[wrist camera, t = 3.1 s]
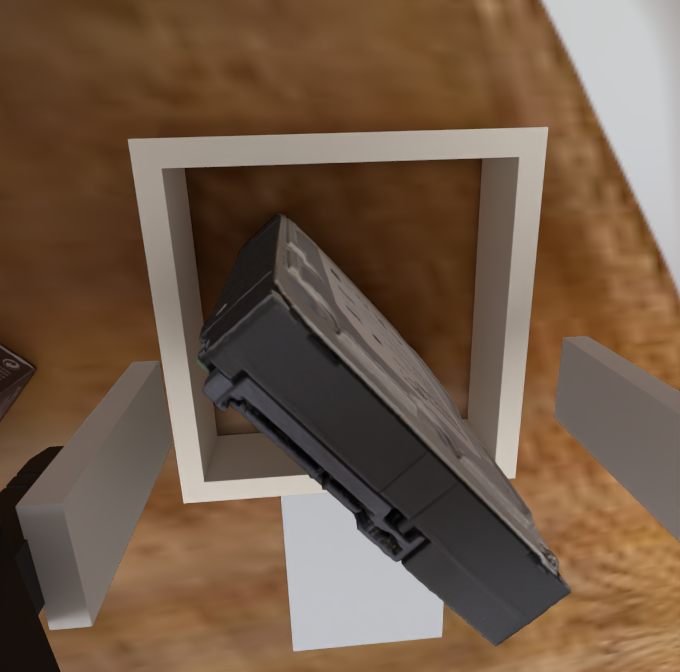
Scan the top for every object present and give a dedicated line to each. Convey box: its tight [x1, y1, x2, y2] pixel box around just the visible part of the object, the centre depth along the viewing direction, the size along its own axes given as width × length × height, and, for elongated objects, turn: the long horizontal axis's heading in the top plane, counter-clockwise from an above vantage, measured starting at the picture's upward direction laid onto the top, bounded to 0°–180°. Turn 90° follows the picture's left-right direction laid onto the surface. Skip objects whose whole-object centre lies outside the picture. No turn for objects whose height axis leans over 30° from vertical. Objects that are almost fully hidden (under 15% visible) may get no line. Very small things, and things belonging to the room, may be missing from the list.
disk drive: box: [196, 213, 571, 646], centre depth 18 cm, size 10×3×15 cm, turn 42°
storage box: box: [128, 127, 548, 503], centre depth 23 cm, size 15×15×4 cm
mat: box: [281, 492, 443, 651], centre depth 29 cm, size 12×9×1 cm
